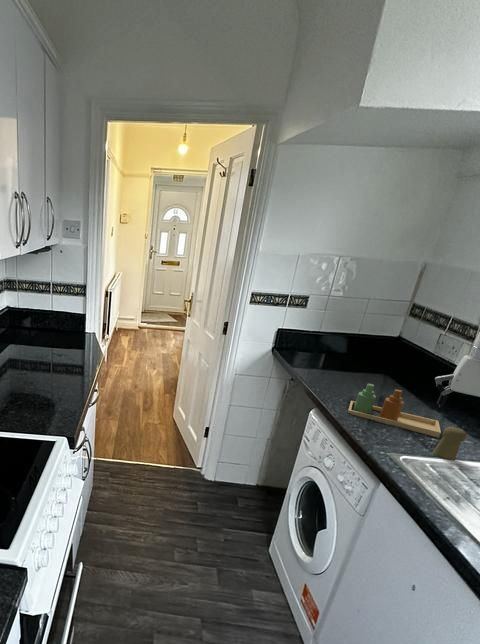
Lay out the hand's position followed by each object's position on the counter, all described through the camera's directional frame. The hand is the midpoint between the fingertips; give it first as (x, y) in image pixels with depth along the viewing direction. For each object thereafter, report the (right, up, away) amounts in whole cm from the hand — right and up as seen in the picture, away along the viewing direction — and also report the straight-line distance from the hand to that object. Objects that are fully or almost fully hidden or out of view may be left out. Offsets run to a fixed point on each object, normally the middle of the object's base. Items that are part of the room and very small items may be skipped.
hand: (460, 411), depth 119 cm
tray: (+3, -4, +32) cm, 32 cm away
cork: (0, -15, +6) cm, 16 cm away
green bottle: (-5, -1, +37) cm, 37 cm away
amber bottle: (+2, -3, +32) cm, 32 cm away
